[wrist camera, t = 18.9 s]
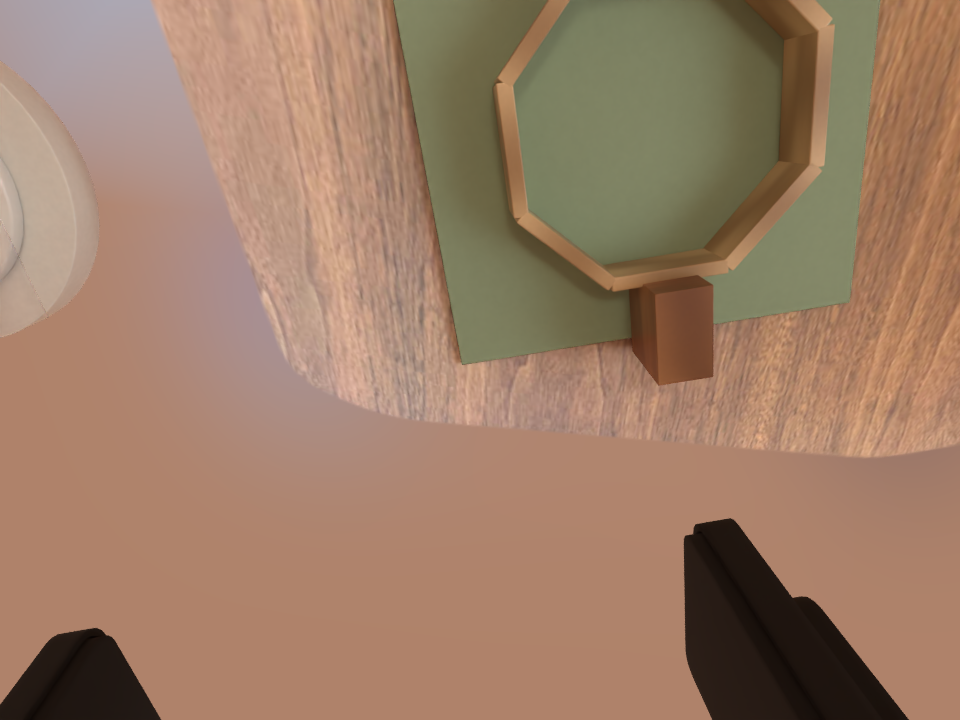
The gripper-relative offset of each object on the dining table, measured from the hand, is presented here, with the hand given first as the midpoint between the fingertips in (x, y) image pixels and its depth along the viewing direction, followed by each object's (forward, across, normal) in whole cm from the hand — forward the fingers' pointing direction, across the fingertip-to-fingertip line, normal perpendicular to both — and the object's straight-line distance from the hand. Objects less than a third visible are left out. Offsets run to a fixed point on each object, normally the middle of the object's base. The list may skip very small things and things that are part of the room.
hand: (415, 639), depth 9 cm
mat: (+26, -13, -6) cm, 29 cm away
